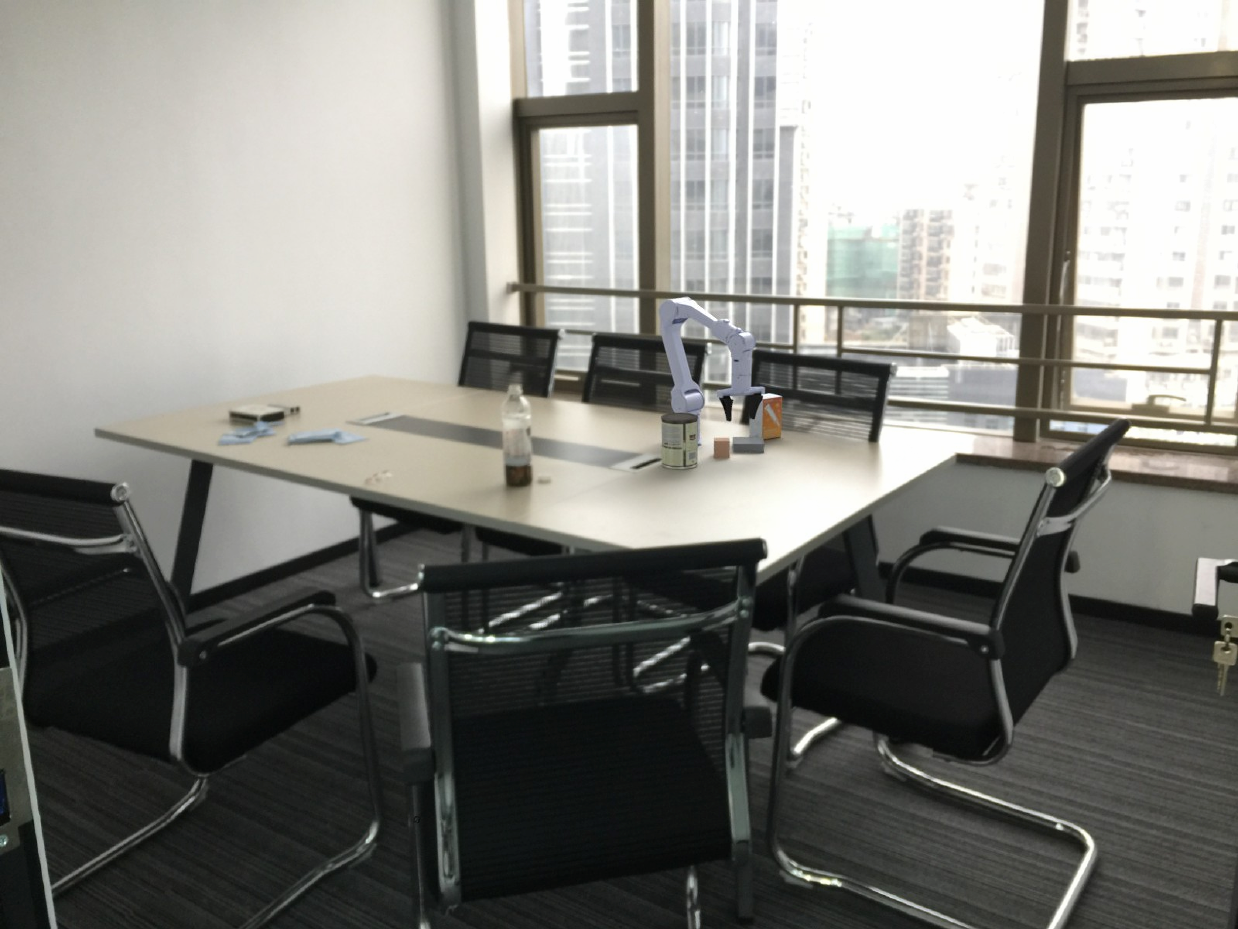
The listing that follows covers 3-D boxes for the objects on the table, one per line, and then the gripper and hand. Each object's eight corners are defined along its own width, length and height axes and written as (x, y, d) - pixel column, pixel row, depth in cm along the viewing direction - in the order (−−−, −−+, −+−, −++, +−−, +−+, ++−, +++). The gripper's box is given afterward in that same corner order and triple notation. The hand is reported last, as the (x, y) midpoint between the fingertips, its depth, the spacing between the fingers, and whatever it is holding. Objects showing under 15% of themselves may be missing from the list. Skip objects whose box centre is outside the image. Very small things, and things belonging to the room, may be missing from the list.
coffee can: (667, 459, 308) (667, 411, 305) (701, 461, 305) (702, 413, 302) (656, 468, 299) (656, 418, 295) (692, 470, 296) (692, 420, 292)
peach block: (713, 457, 310) (713, 441, 308) (713, 454, 314) (713, 437, 313) (729, 458, 309) (729, 441, 308) (729, 454, 314) (729, 437, 312)
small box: (762, 440, 330) (762, 398, 327) (748, 436, 335) (749, 395, 332) (781, 436, 334) (782, 395, 331) (768, 433, 339) (769, 392, 336)
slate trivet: (733, 453, 316) (733, 443, 315) (732, 446, 325) (732, 436, 324) (763, 453, 315) (764, 443, 314) (762, 446, 324) (762, 436, 323)
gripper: (724, 377, 305) (723, 424, 308) (770, 374, 309) (769, 420, 313) (714, 374, 311) (713, 419, 314) (759, 370, 316) (758, 415, 319)
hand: (740, 419), depth 314 cm, fingers open, 7 cm apart
